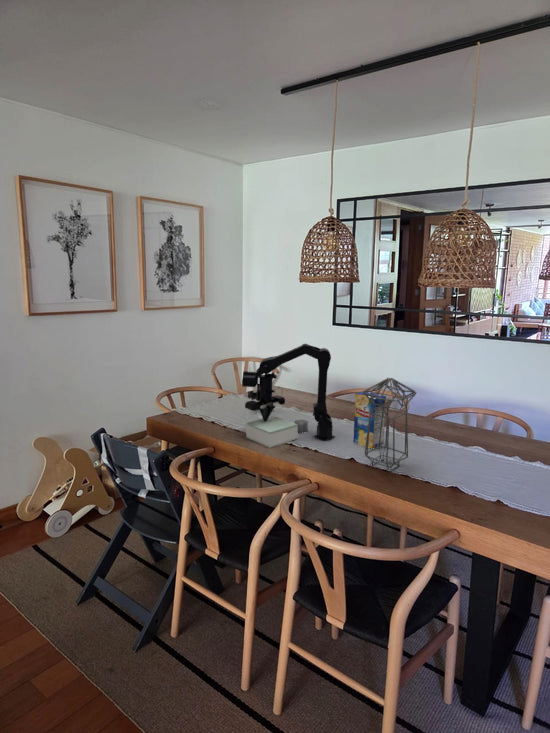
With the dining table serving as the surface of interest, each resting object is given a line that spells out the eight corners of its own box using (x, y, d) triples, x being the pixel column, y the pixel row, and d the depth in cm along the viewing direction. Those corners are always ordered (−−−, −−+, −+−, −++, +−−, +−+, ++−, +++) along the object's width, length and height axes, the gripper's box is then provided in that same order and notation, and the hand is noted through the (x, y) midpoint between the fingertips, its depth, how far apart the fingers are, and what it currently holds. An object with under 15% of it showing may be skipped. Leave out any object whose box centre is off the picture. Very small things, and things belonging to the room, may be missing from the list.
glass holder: (254, 411, 252) (254, 383, 249) (280, 409, 256) (280, 381, 253) (258, 416, 244) (258, 387, 241) (284, 414, 248) (285, 385, 245)
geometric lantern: (414, 466, 184) (420, 378, 176) (391, 479, 173) (396, 386, 165) (379, 454, 195) (383, 370, 187) (355, 466, 184) (359, 377, 176)
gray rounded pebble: (310, 431, 222) (310, 422, 222) (300, 434, 219) (301, 424, 218) (301, 428, 227) (301, 418, 226) (291, 430, 223) (292, 421, 222)
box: (297, 439, 212) (297, 426, 211) (269, 447, 202) (269, 434, 200) (273, 430, 224) (273, 417, 222) (246, 437, 213) (246, 424, 212)
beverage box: (372, 450, 200) (375, 399, 195) (353, 442, 208) (355, 393, 204) (383, 446, 204) (386, 396, 200) (363, 439, 213) (366, 390, 208)
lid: (297, 426, 211) (297, 424, 210) (269, 434, 200) (269, 432, 200) (273, 417, 222) (273, 415, 222) (246, 424, 212) (246, 423, 212)
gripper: (270, 380, 223) (269, 412, 226) (237, 386, 211) (237, 420, 215) (286, 385, 215) (285, 419, 218) (253, 392, 203) (252, 427, 206)
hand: (265, 421), depth 215 cm, fingers closed, pressing on lid
